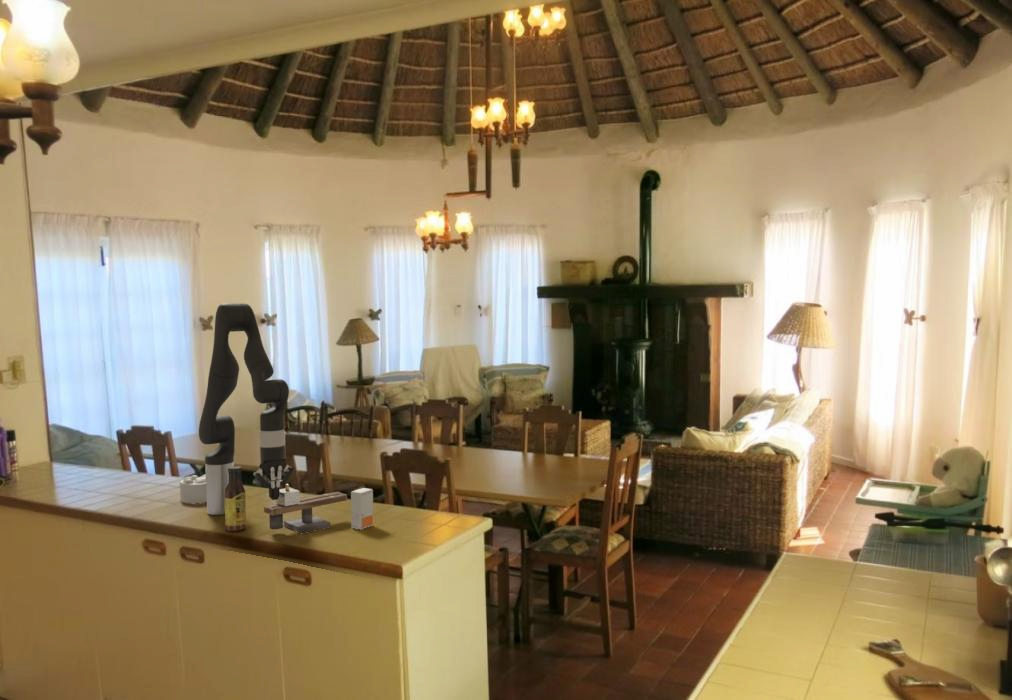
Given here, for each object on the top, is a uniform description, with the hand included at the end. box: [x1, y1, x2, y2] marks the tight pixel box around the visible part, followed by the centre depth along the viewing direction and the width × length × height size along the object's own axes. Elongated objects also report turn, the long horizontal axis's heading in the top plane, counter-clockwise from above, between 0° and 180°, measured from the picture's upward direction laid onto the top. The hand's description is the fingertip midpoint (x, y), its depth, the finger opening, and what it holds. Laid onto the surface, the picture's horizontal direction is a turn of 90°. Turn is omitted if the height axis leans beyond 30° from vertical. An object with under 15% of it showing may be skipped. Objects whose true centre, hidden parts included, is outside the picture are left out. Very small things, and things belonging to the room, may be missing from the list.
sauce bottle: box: [224, 466, 247, 532], centre depth 242 cm, size 6×6×20 cm
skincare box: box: [350, 487, 374, 531], centre depth 242 cm, size 6×4×12 cm
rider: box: [275, 483, 301, 506], centre depth 239 cm, size 6×5×8 cm
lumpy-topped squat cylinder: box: [179, 474, 207, 504], centre depth 280 cm, size 10×13×9 cm
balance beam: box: [263, 491, 348, 535], centre depth 244 cm, size 12×26×9 cm, turn 133°
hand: (274, 499), depth 236 cm, fingers closed
